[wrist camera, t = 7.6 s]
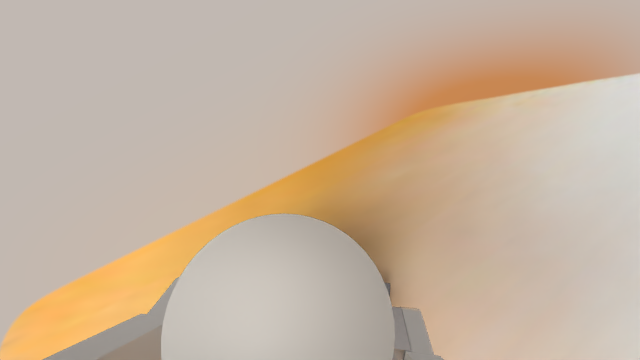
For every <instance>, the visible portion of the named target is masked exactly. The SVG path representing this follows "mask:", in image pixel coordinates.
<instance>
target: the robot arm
mask: <svg viewBox="0 0 640 360" xmlns="http://www.w3.org/2000/svg"><path fill="white" fill-rule="evenodd" d="M178 279H179V277H178V278H176V279H175V280H174V282H173V283H172V284H171V285H170V287H169V288H168V289H167V290H166V292H165V293H164V294H163V295H162V296H161V298H160V299H159V300H158V301H157V303H156V304H155V305H154V306H153V308H152V309H151V310H150V311H149V312H148V314H140V315H138V316H135V317H133V318H131V319H129V320H127V321H125V322H123V323H120V324H118V325H116V326H114V327H112V328H110V329H107V330H105V331H103V332H101V333H99V334H97V335H95V336H92V337H90V338H88V339H86V340H84V341H82V342H79V343H77V344H75V345H73V346H71V347H69V348H67V349H64V350H62V351H60V352H58V353H56V354H54V355H51V356H49V357H47V358H45V359H43V360H161V335H162V327H163V320H164V316H165V312H166V308H167V305H168V302H169V299H170V297H171V294H172V291H173V289H174V287H175V285H176V283H177V281H178ZM392 310H393V316H394V328H395V341H394V353H393V359H392V360H444V359H443V358H442V357H441V356H436V355H434V352H433V349H432V346H431V343H430V340H429V336H428V333H427V330H426V327H425V323H424V320H423V317H422V314H421V311H420V310H419V309H415V308H405V307H400V308H399V307H392Z"/></svg>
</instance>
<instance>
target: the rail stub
mask: <svg viewBox="0 0 640 360" xmlns="http://www.w3.org/2000/svg"><path fill="white" fill-rule="evenodd" d="M394 341H395V328H394V316H393V310H392V304H391V301H390V297H389V294H388V290H387V288H386V285H385V283H384V281H383V278H382V276H381V274H380V273H379V271H378V269H377V267H376V265H375V264H374V262H373V261H372V260H371V258H370V257H369V256H368V254H367V253H366V252H365V251H364V250H363V249H362V248H361V247H360V245H359V244H358V243H357V242H355V241H354V240H353V239H352V238H351V237H349V236H348V235H347V234H346V233H344V232H342V231H341V230H339V229H338V228H336V227H334V226H332V225H330V224H328V223H326V222H324V221H321V220H318V219H315V218H312V217H308V216H302V215H297V214H271V215H265V216H260V217H256V218H252V219H249V220H246V221H243V222H241V223H239V224H237V225H234V226H232V227H230V228H229V229H227V230H225V231H224V232H222V233H220V234H219V235H218V236H216V237H215V238H214V239H212V240H211V241H210V242H208V243H207V244H206V245H205V246H204V247H203V248H202V249H201V250H200V251H199V252H198V253H197V254H196V255H195V257H194V258H193V259H192V260H191V261H190V263H189V264H188V265H187V267H186V268H185V270H184V271H183V273H182V274H181V276H180V277H179V279H178V281H177V283H176V285H175V287H174V289H173V291H172V294H171V297H170V299H169V302H168V305H167V308H166V312H165V316H164V320H163V327H162V335H161V360H392V359H393V353H394Z"/></svg>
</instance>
